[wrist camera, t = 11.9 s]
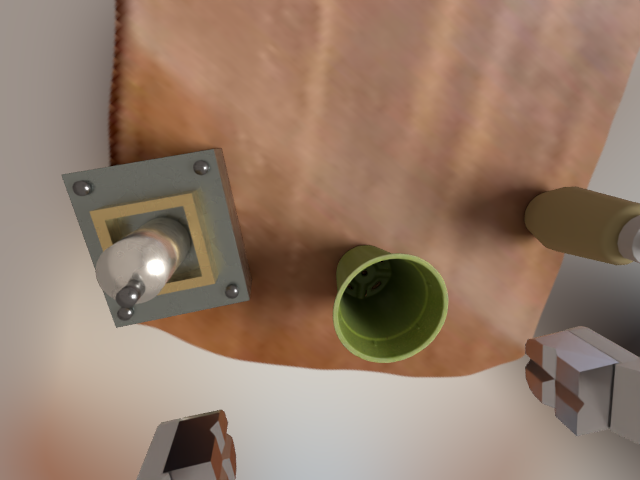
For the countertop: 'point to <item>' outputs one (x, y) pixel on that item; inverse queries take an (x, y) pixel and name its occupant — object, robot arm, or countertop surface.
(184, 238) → the spout can
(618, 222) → the squeeze bottle
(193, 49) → the countertop surface
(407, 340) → the plant pot
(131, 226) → the grey square housing block
